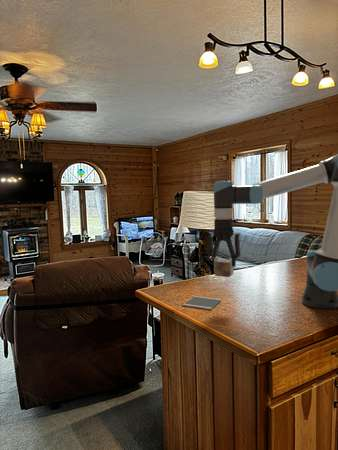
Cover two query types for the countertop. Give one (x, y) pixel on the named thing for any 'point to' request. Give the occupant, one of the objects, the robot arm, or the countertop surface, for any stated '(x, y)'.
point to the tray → (202, 303)
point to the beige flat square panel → (222, 309)
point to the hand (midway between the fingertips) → (223, 273)
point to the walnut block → (222, 268)
